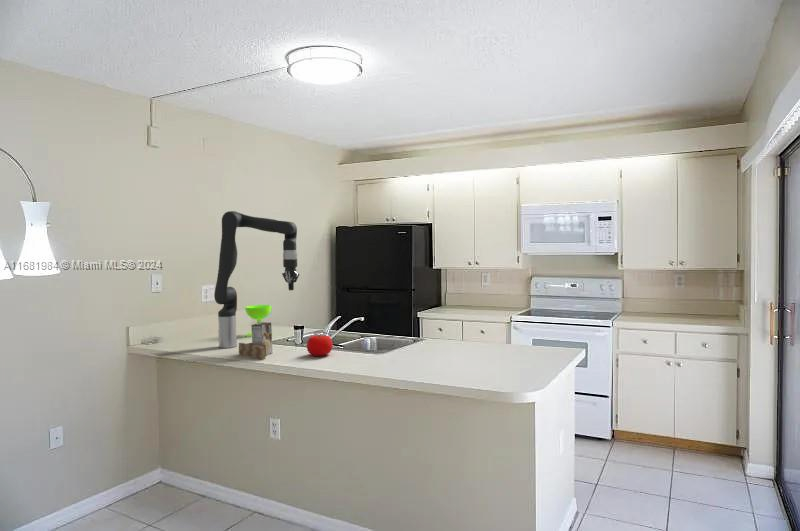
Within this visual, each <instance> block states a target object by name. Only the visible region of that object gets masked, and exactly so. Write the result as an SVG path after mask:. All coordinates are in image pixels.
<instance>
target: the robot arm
mask: <svg viewBox="0 0 800 531" xmlns="http://www.w3.org/2000/svg"><path fill="white" fill-rule="evenodd" d="M238 228H249V229H255V230H259V231H262V232H267V233H268V232H270V233H278V234H280V235H282V234H283V235H284V240H283V241H282V244H283V245H282V246H283V247H282V249H283V250H282V251H283V253H282V264H283V265H282V266H283V268H284V272H282V273H281V274H282V277H283V279H284V281H285V283H287V284H288V291H294V289H295V287H294V286H295V285H294V284H295V283H296V282H297V281H298V278H299V276H300V273H299V272H297V267H298V251H297V234H298V228H297V225H296V223H295V222H293V221H292V222H291V221H287V220H278V219H273V218H267V217H258V216H250V215H247V214H244V213H241V212H237V211H234V210H231V211H226V212H224V213H223V215H222V217H221V239H220V240H221V241H220V249H219V259H218V261H219V262H218V270H217V278H216V284H215V289H214V294H213V295H214V297H213V298H214V301H215V303H216V304H218V305H223V306H222V308H221V309H219V310H218V313H217V319H218V347H219V348H221V349H230V348H236V347H237V346H238V342H237V341H238V340H237V317H236V315H237V314H236V312H237V310H238V293H237V290H236V289H235V287H233V286H229V279H230V278H231V276H232V274H233V272H234V270H235V268H236V266H237V260H238V247H237V242H236V234H237V229H238Z"/></svg>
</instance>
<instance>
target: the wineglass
mask: <svg viewBox="0 0 800 531" xmlns="http://www.w3.org/2000/svg"><path fill="white" fill-rule="evenodd" d="M244 310H245V312H246V315H247V316H248V317H250V318H251V319H253V320H257V323H261V320H262V319H265V318H267V317H268V316H269V315H270V313H271V311H272V305H269V304H257V305H249V306H244ZM257 323H256V324H257ZM246 336H248V337H247V338H251V337H252V332H249V333H247V334H246ZM246 336H245V337H246Z"/></svg>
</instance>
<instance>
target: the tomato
mask: <svg viewBox="0 0 800 531" xmlns="http://www.w3.org/2000/svg"><path fill="white" fill-rule="evenodd" d="M333 345H334V344H333V340H332V337H331V336H329V335H326V334H325V335H323V334H316V335H311V336H310V337H309V338H308V340H307V344H306V349H307V353H308V354H309V355H311V356H314V357H322V356H323V357H324V356H326V355H329V354H330V353H331V352H332V350H333Z"/></svg>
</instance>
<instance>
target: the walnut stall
mask: <svg viewBox="0 0 800 531" xmlns="http://www.w3.org/2000/svg"><path fill="white" fill-rule="evenodd" d="M238 355H239V356H245V357H249V358H253V359H257V358H258V359H257V360H262V359H265V360H266V357H267V355H266V345H259V346H256V345H252V342H248V343H245V342H238ZM265 356H266V357H265Z"/></svg>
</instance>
